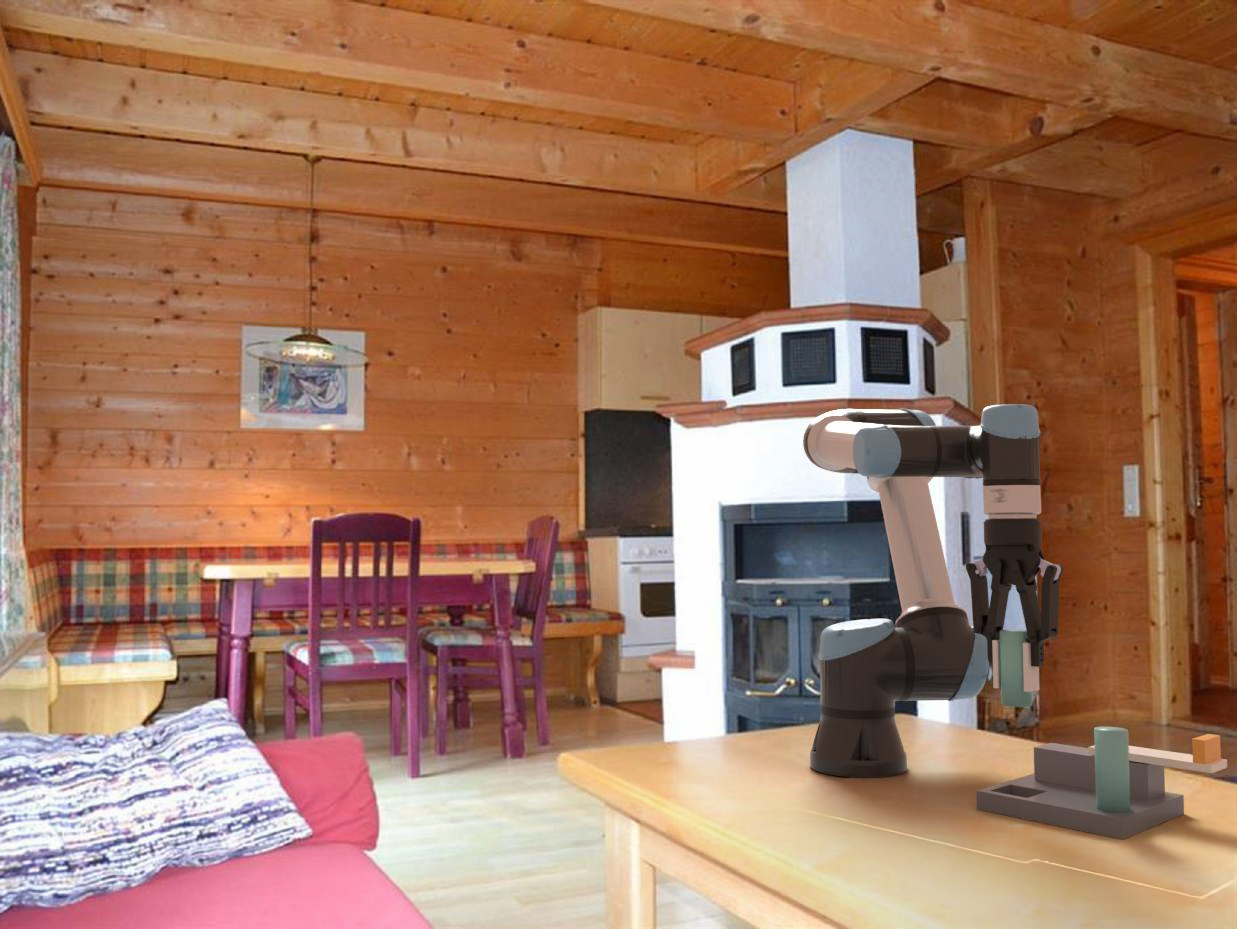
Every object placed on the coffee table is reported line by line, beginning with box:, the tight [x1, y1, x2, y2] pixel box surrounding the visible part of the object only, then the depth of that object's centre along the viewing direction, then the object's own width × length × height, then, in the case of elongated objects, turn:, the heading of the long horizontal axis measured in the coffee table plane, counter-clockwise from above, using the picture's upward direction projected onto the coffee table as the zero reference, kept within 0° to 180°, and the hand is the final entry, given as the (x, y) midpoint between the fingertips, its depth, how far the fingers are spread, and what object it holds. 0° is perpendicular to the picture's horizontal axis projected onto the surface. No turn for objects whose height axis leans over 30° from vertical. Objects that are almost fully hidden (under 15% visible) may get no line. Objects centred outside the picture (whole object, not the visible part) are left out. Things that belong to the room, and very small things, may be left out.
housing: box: [975, 726, 1185, 840], centre depth 154 cm, size 20×18×12 cm
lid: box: [1087, 733, 1228, 774], centre depth 152 cm, size 16×5×4 cm, turn 42°
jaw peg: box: [1000, 628, 1033, 708], centre depth 156 cm, size 4×4×10 cm
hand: (1016, 688), depth 155 cm, fingers closed on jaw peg, 4 cm apart
